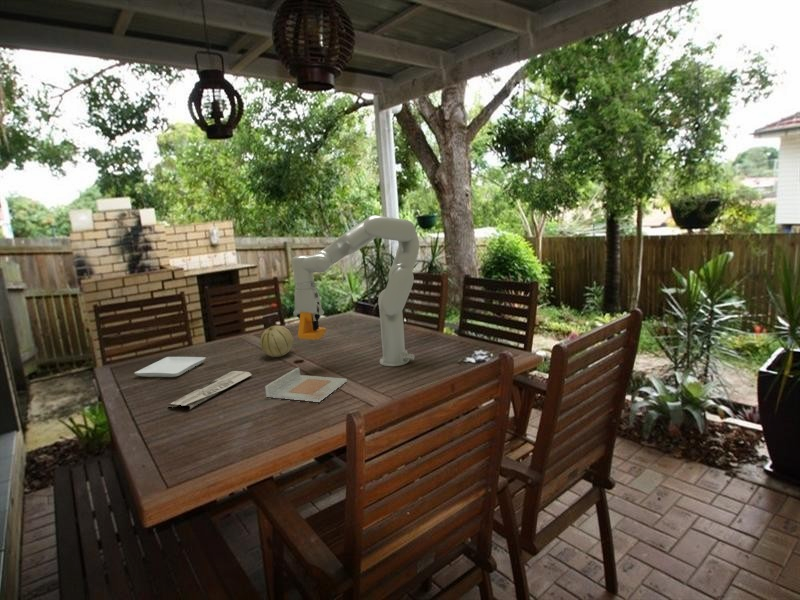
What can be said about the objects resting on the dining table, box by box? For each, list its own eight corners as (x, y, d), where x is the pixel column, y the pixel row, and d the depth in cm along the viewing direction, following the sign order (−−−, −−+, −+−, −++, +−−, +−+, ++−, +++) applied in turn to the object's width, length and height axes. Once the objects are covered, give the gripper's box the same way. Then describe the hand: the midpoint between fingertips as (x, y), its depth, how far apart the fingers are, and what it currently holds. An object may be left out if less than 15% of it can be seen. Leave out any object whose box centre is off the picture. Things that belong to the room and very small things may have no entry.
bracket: (314, 341, 182) (312, 312, 179) (298, 340, 184) (296, 311, 181) (326, 334, 192) (325, 306, 189) (311, 332, 194) (309, 305, 191)
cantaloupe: (298, 351, 220) (295, 320, 217) (288, 360, 206) (284, 328, 203) (269, 352, 222) (265, 322, 219) (257, 361, 207) (252, 329, 205)
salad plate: (177, 380, 191) (176, 372, 190) (134, 379, 195) (132, 372, 194) (208, 363, 211) (207, 356, 210) (168, 363, 215) (166, 356, 215)
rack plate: (347, 382, 174) (346, 371, 173) (319, 403, 155) (318, 391, 155) (298, 378, 182) (296, 367, 181) (266, 398, 164) (265, 386, 163)
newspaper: (230, 375, 192) (229, 367, 192) (255, 377, 188) (254, 369, 188) (164, 411, 159) (162, 401, 159) (193, 413, 155) (191, 404, 155)
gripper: (328, 283, 184) (333, 327, 188) (293, 284, 191) (298, 327, 194) (318, 287, 177) (323, 332, 181) (282, 288, 184) (288, 332, 187)
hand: (310, 329), depth 187 cm, fingers closed on bracket, 4 cm apart
